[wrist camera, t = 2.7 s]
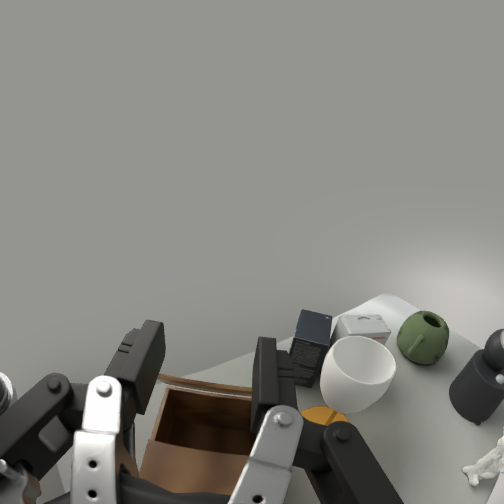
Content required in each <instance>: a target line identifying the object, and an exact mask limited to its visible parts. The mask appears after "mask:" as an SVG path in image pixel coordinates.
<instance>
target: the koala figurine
mask: <svg viewBox="0 0 504 504" xmlns="http://www.w3.org/2000/svg"><path fill="white" fill-rule="evenodd" d="M503 435H504V428H503ZM462 471H463V473H466V474H467V475H468V478H469V484H470V485H473V486H477V485H478V484H479V480H482V479H484V478H485V479H491V478H495V477H496V476H497V475H498V473H504V436H503V437H502V438H500V439H499V440H498V442H497V446H496V447H495V449H493V450H491V451H490V452H489V453H488V454H487V455H486V456H484V457H482V458H481V459H479V460H478V461H477V463H476V464H474V465H472V466H465V467H463V469H462Z"/></svg>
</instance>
